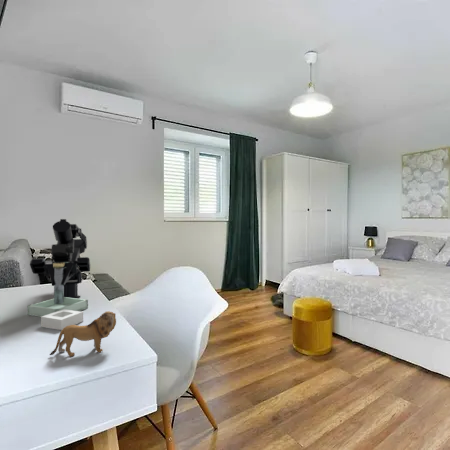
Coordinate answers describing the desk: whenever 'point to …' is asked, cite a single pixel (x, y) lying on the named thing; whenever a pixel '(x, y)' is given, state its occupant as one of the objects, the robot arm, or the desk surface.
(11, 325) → the desk surface
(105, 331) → the lion figurine
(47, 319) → the socket block
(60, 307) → the tray
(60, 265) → the pin
